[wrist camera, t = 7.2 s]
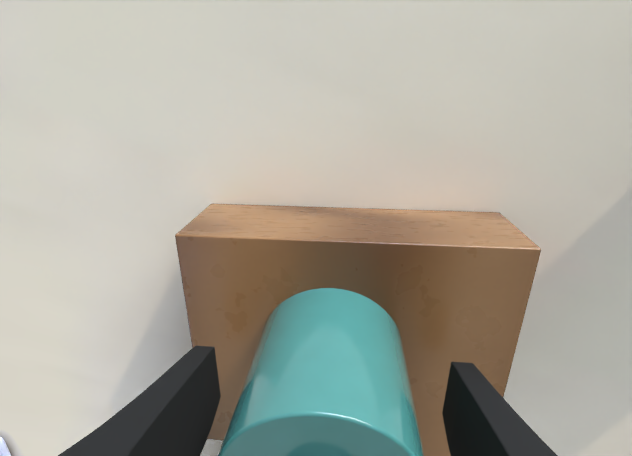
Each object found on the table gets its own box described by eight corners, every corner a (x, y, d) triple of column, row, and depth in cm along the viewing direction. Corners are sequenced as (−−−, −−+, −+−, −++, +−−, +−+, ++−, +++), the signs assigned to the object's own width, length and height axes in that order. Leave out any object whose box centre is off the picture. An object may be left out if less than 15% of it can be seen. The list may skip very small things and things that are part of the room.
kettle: (257, 283, 12) (189, 431, 7) (408, 290, 11) (453, 453, 6) (267, 430, 14) (222, 618, 9) (391, 440, 14) (414, 642, 9)
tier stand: (243, 499, 21) (226, 568, 18) (210, 203, 14) (174, 235, 11) (438, 518, 20) (453, 593, 17) (499, 212, 13) (541, 248, 10)
